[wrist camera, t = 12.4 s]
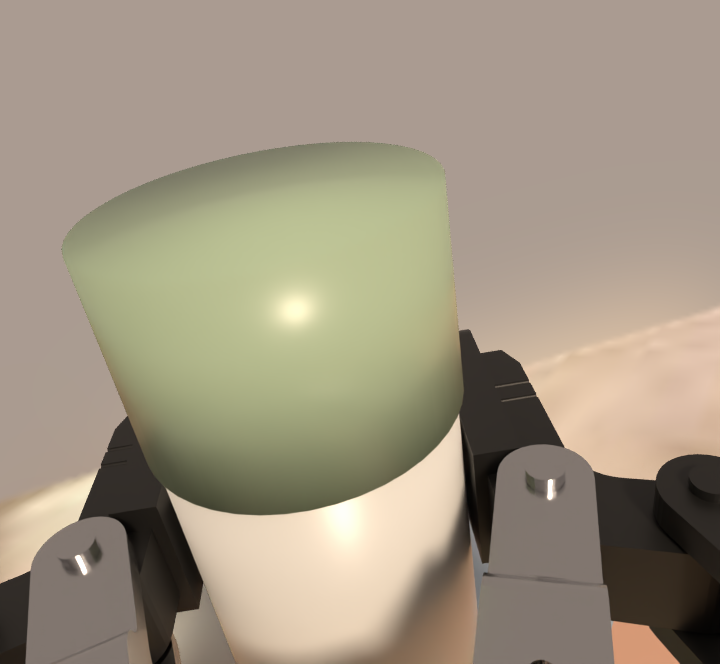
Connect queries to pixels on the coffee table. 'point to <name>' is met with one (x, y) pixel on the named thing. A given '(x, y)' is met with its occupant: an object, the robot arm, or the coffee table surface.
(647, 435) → the coffee table surface
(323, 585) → the marker
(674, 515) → the robot arm
